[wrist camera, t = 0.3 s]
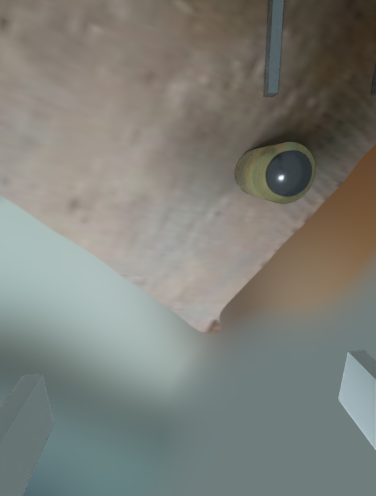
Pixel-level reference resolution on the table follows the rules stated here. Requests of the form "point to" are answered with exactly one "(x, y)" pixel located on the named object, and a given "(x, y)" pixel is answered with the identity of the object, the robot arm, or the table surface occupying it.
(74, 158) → the table surface
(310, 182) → the yellow jar
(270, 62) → the flange cradle
